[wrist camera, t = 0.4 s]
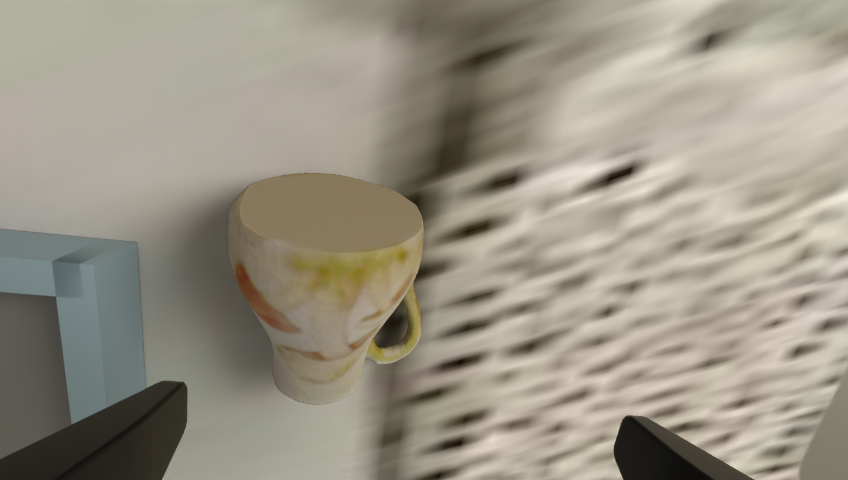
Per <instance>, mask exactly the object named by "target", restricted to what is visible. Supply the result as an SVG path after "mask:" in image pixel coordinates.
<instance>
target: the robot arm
mask: <svg viewBox="0 0 848 480" xmlns="http://www.w3.org/2000/svg"><path fill="white" fill-rule="evenodd" d="M186 423H187V386H186V384H185V383H184V382H176V381H161V382H158V383H156V384H154V385H152V386H150V387H148V388H146V389H144V390H142V391H140V392H138V393H136V394H133V395H131V396H129V397H127V398H125V399H123V400H121V401H119V402H117V403H115V404H113V405H111V406H109V407H107V408H104V409H102V410H100V411H98V412H96V413H94V414H92V415H90V416H88V417H86V418H84V419H82V420H80V421H78V422H76V423H73V424H71V425H69V426H67V427H65V428H63V429H61V430H59V431H57V432H55V433H53V434H51V435H49V436H46V437H44V438H42V439H40V440H38V441H36V442H34V443H32V444H30V445H28V446H26V447H24V448H22V449H20V450H17V451H15V452H13V453H11V454H9V455H7V456H5V457H3V458H1V459H0V480H162V478H163V476H164V474H165V472H166V470H167V468H168V465H169V463H170V461H171V459H172V457H173V455H174V452H175V450H176V448H177V446H178V444H179V442H180V440H181V437H182V435H183V433H184V430H185V427H186ZM614 457H615V460H616V463H617V465H618V468H619V470H620V473H621V475H622V477H623V480H754V479H752V478H750V477H749V476H747V475H745V474H743V473H742V472H740V471H738V470H736V469H735V468H733V467H731V466H730V465H728V464H726V463H724V462H723V461H721V460H719V459H717V458H716V457H714V456H712V455H711V454H709V453H707V452H705V451H704V450H702V449H700V448H698V447H697V446H695V445H693V444H691V443H690V442H688V441H686V440H685V439H683V438H681V437H679V436H678V435H676V434H674V433H672V432H671V431H669V430H667V429H666V428H664V427H662V426H660V425H659V424H657V423H655V422H653V421H652V420H650V419H648V418H646V417H643V416H631V415H628V416H625V417H624V418H623V420H622V422H621V426H620V429H619V432H618V435H617V438H616V441H615V445H614Z"/></svg>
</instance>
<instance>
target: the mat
mask: <svg viewBox="0 0 848 480" xmlns="http://www.w3.org/2000/svg"><path fill="white" fill-rule="evenodd" d="M71 424H72V423H71V415H70V407H69V398H68V390H67V382H66V374H65V365H64V357H63V349H62V341H61V333H60V324H59V316H58V308H57V300H56V296H44V295H32V294H19V293H7V292H0V459H1V458H3V457H5V456H7V455H9V454H11V453H13V452H15V451H17V450H20V449H22V448H24V447H26V446H28V445H30V444H32V443H34V442H36V441H38V440H40V439H42V438H44V437H46V436H49V435H51V434H53V433H55V432H57V431H59V430H61V429H63V428H65V427H67V426H69V425H71Z"/></svg>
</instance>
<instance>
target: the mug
mask: <svg viewBox="0 0 848 480" xmlns="http://www.w3.org/2000/svg"><path fill="white" fill-rule="evenodd" d="M423 237H424V228H423V220H422V216H421V213H420V211H419V210H418V208H417V206H416V205H415V204H414V203H412V202H411V201H409V200H408V199H406V198H405V197H403V196H402V195H401V194H399V193H397V192H395V191H393V190H390V189H388V188H386V187H384V186H381V185H377V184H374V183H370V182H366V181H363V180H359V179H355V178H351V177H346V176H341V175H336V174H321V173H304V174H291V175H283V176H279V177H274V178H269V179H265V180H261V181H258V182H255V183H252V184H250V185H249V186H247V187H246V188H245V189H244V191H243V192H242V193H241V194H240V195H239V196H238V197H237V199H236V200H235V201H234V203H233V204H232V206H231V208H230V211H229V223H228V256H229V260H230V264H231V267H232V270H233V273H234V275H235V278H236V281H237V283H238V285H239V287H240V289H241V291H242V293H243V295H244V297H245V299H246V300H247V302H248V303H249V305H250V307H251V308H252V310H253V312H254V313H255V315H256V316H257V318H258V320H259V321H260V323H261V324H262V326H263V327H264V329H265V331H266V333H267V334H268V336H269V338H270V340H271V343H272V346H273V377H274V382H275V385H276V386H277V388H278V389H279V390H280V391H281V392H282V393H283V394H285V395H286V396H288V397H290V398H292V399H294V400H296V401H298V402H302V403H306V404H313V405H320V404H328V403H332V402H335V401H338V400H340V399H342V398H344V397H345V396H347V395H348V394H350V393H351V392H352V391H353V390H354V389H355V388H356V387H357V386H358V384H359V382H360V380H361V377H362V374H363V368H364V362H365V358H368V359H370V360H372V361H373V362H375V363H377V364H390V363H393V362H395V361H397V360H399V359H401V358H403V357H405V356H406V355H408V354H409V353H410V352H411V351H412V350H413V349H414V348H415V346H416V345H417V343H418V341H419V339H420V336H421V332H422V315H421V312H420V308H419V305H418V302H417V298H416V294H415V290H414V286H413V281H414V279H415V277H416V274H417V272H418V269H419V265H420V261H421V257H422V250H423ZM401 301H403V304H404V307H405V309H406V313H407V316H408V329H407V333H406V336H405V337H404V338H403V340H402V341H400V342H399V343H397V344H395V345H392V346H388V347H385V348H378V347H377V346H376V344H375V340H374V336H375V335H376V334H377V332H378V331H379V330H380V328H381V327H382V326H383V325H384V323H385V322H386V321H387V319H388V318H389V317H390V315H391V314H392V313H393V311H394V310H395V309H396V308H397V306H398V305H399V304H400V302H401Z"/></svg>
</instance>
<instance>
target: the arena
mask: <svg viewBox="0 0 848 480" xmlns="http://www.w3.org/2000/svg"><path fill="white" fill-rule="evenodd" d="M0 292H7V293H19V294H32V295H44V296H56V300H57V308H58V316H59V324H60V333H61V341H62V349H63V357H64V365H65V374H66V382H67V390H68V398H69V407H70V415H71V423H72V424H73V423H76V422H78V421H80V420H82V419H84V418H86V417H88V416H90V415H92V414H94V413H96V412H98V411H100V410H102V409H104V408H107V407H109V406H111V405H113V404H115V403H117V402H119V401H121V400H123V399H125V398H127V397H129V396H131V395H133V394H136V393H138V392H140V391H142V390H144V389H146V383H145V366H144V349H143V332H142V315H141V298H140V282H139V265H138V248H137V242H127V241H117V240H107V239H97V238H87V237H76V236H66V235H56V234H46V233H36V232H26V231H16V230H5V229H0Z"/></svg>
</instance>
